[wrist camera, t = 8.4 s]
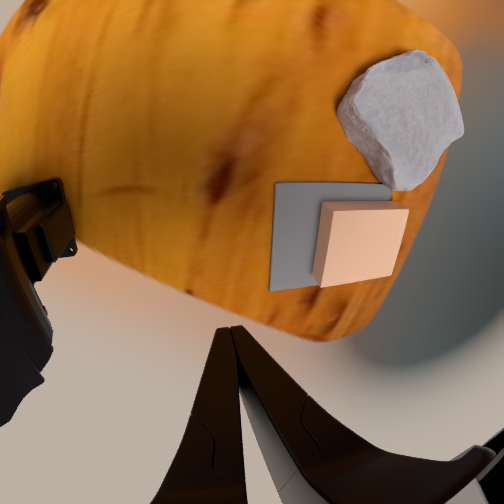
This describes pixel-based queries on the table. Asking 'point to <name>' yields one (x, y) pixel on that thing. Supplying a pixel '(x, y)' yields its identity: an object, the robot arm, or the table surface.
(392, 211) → the tile
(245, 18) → the table surface
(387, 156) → the stone block
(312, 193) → the mat
